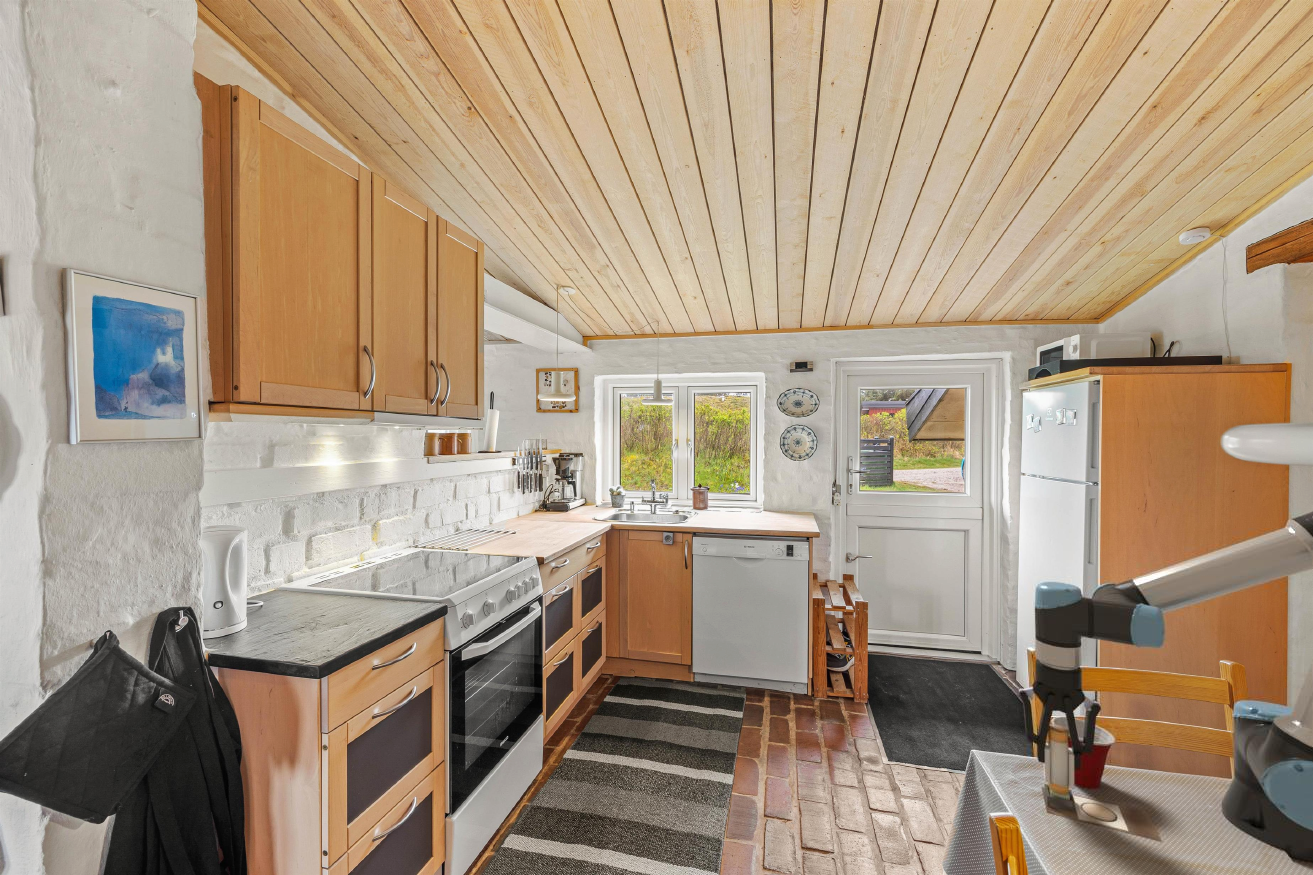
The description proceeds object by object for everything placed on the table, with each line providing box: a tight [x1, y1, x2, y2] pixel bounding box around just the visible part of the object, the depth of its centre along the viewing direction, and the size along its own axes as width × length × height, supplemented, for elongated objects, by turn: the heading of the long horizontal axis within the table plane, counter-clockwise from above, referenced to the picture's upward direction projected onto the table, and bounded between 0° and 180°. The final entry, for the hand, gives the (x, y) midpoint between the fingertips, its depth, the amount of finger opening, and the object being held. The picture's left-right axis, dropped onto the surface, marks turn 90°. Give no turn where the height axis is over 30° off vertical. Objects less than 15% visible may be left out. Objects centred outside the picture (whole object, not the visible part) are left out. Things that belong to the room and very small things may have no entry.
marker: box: [1047, 724, 1070, 795], centre depth 112 cm, size 3×3×12 cm
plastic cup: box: [1050, 716, 1116, 790], centre depth 119 cm, size 11×11×12 cm
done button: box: [1049, 789, 1070, 800], centre depth 112 cm, size 3×3×2 cm
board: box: [1041, 783, 1163, 843], centre depth 109 cm, size 17×9×3 cm, turn 62°
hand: (1058, 781), depth 112 cm, fingers closed on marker, 3 cm apart
